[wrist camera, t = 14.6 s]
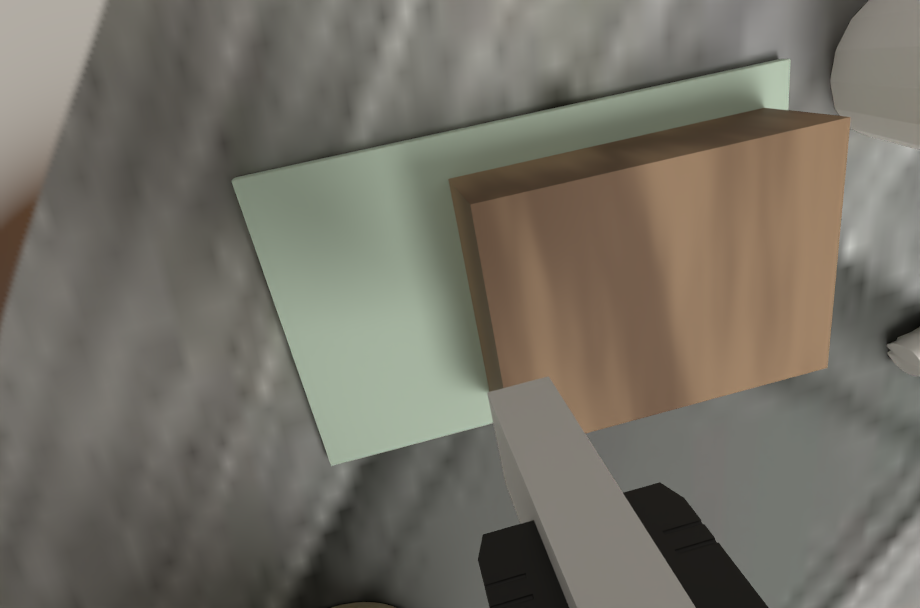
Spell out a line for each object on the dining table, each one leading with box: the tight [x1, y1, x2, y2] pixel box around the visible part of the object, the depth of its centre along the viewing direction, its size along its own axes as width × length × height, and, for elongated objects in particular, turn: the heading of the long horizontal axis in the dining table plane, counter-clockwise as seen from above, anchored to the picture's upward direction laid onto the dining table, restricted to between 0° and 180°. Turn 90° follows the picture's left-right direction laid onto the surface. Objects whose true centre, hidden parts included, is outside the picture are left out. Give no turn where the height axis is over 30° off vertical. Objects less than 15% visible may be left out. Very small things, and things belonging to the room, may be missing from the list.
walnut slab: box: [448, 108, 851, 433], centre depth 21 cm, size 4×9×12 cm
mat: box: [232, 59, 791, 466], centre depth 23 cm, size 20×12×1 cm, turn 100°
